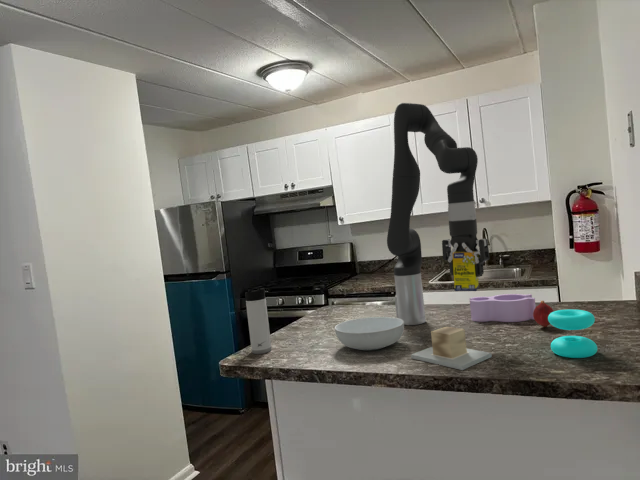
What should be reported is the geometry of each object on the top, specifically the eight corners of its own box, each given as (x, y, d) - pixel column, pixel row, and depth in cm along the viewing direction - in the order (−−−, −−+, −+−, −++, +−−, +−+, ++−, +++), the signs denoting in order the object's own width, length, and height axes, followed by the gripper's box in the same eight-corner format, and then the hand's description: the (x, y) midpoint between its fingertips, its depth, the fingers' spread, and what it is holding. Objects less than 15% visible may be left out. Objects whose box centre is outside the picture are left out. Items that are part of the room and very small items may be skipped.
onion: (558, 329, 132) (555, 301, 131) (537, 330, 133) (534, 303, 132) (552, 324, 137) (550, 298, 137) (532, 325, 138) (529, 299, 138)
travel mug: (264, 354, 139) (256, 290, 138) (247, 353, 142) (240, 290, 142) (276, 348, 144) (269, 286, 143) (260, 347, 148) (253, 287, 147)
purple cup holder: (471, 323, 149) (469, 303, 149) (471, 315, 161) (469, 296, 161) (538, 321, 143) (536, 299, 143) (532, 312, 155) (530, 292, 155)
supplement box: (454, 291, 127) (451, 252, 127) (457, 287, 133) (455, 250, 132) (476, 291, 125) (474, 252, 124) (479, 287, 130) (476, 249, 129)
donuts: (597, 309, 110) (590, 318, 103) (601, 349, 111) (593, 361, 103) (552, 307, 117) (542, 316, 109) (556, 345, 117) (546, 357, 110)
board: (411, 358, 120) (411, 354, 120) (440, 347, 127) (440, 343, 127) (462, 370, 107) (461, 365, 107) (491, 356, 114) (491, 352, 114)
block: (433, 354, 118) (430, 331, 117) (447, 348, 121) (445, 326, 121) (452, 358, 113) (449, 334, 112) (466, 352, 116) (464, 329, 116)
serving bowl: (420, 340, 136) (417, 318, 135) (377, 361, 121) (374, 335, 121) (366, 334, 150) (363, 313, 150) (322, 351, 135) (319, 329, 135)
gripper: (433, 220, 132) (438, 276, 132) (475, 218, 120) (480, 279, 121) (450, 219, 136) (454, 272, 137) (492, 216, 124) (496, 275, 125)
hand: (466, 275), depth 129 cm, fingers closed on supplement box, 8 cm apart
